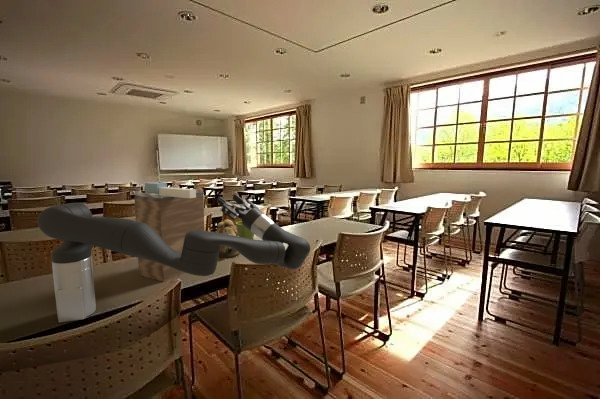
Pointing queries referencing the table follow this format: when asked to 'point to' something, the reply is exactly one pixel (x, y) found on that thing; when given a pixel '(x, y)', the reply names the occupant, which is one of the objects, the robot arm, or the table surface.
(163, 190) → the blue and beige bar
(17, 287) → the table surface
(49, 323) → the table surface
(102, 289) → the table surface
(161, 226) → the tall wood grain pillar
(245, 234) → the plant pot
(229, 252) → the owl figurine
